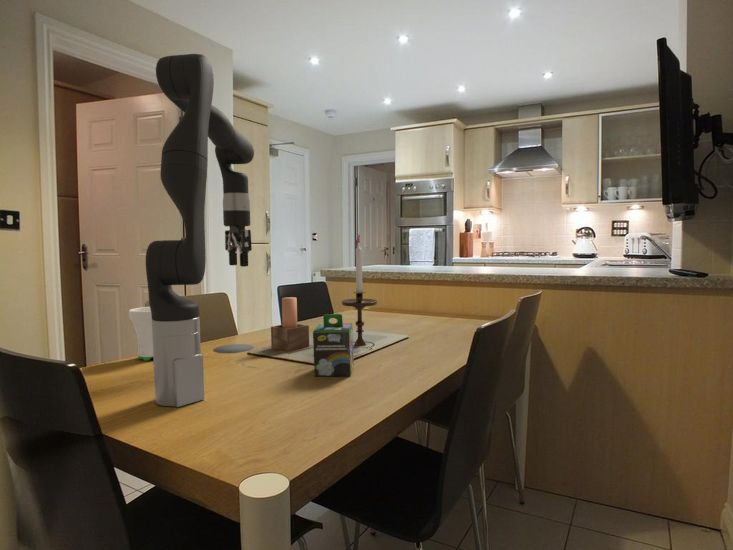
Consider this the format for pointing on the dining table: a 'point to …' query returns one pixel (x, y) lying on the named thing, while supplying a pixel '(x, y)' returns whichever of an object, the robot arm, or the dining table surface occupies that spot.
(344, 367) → the chalk box
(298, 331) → the open wooden box
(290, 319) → the dowel
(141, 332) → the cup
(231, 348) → the coaster
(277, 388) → the dining table surface
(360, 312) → the candlestick
